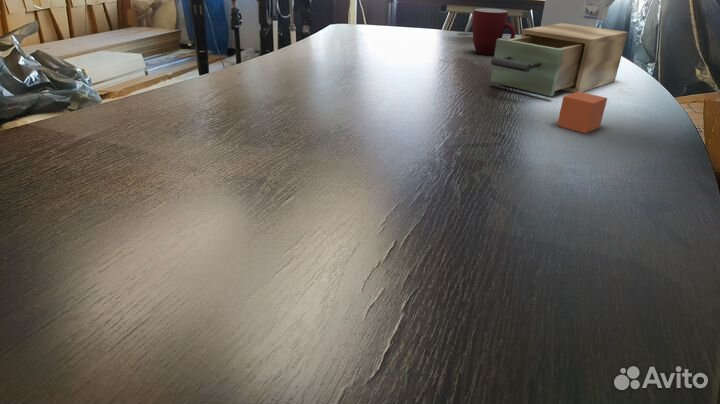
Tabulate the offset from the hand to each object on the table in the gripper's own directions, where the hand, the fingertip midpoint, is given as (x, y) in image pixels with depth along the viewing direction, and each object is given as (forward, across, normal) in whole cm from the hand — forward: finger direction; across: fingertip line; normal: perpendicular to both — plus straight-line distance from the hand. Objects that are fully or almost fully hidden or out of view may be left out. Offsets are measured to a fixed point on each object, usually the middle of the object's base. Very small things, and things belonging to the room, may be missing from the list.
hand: (593, 18), depth 70 cm
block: (+15, -2, +1) cm, 15 cm away
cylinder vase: (+15, +29, -49) cm, 59 cm away
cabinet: (+15, +14, -24) cm, 32 cm away
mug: (+15, +40, -34) cm, 54 cm away
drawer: (+14, +14, -12) cm, 23 cm away
